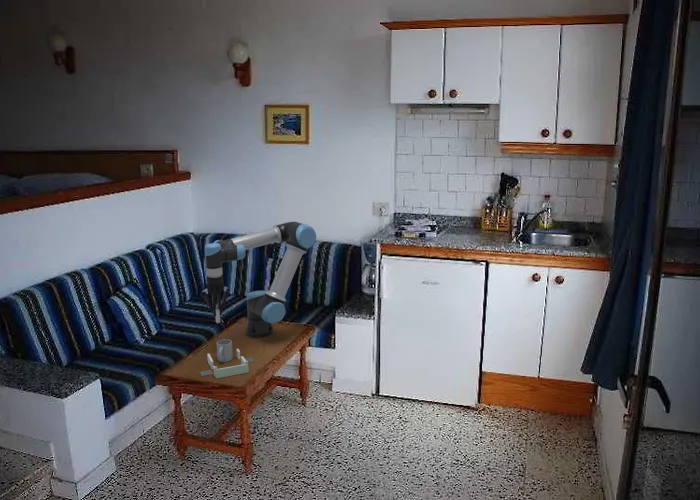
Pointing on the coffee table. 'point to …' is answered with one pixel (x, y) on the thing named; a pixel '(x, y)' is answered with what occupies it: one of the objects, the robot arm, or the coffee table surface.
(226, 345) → the cup
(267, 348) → the coffee table surface
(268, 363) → the coffee table surface
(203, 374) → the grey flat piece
